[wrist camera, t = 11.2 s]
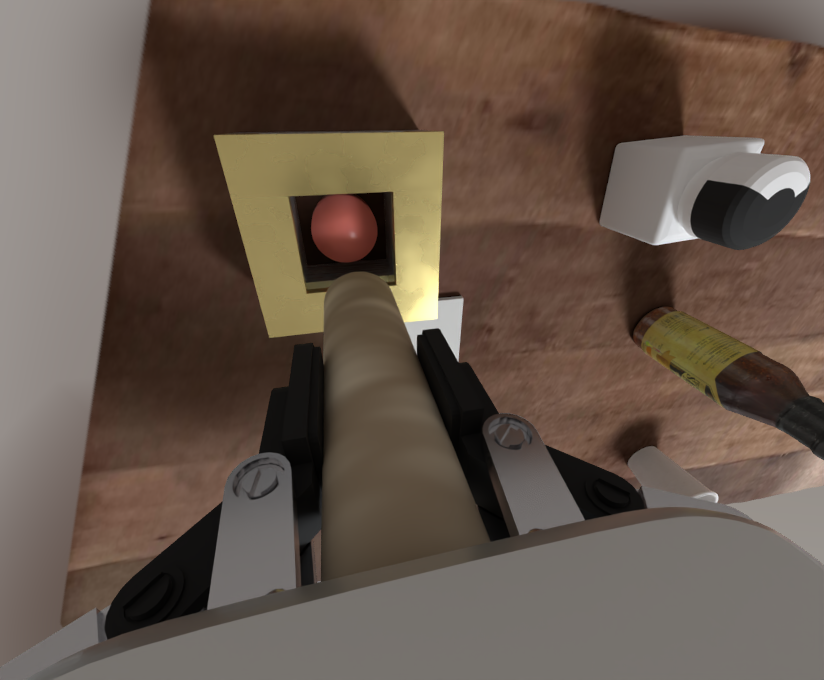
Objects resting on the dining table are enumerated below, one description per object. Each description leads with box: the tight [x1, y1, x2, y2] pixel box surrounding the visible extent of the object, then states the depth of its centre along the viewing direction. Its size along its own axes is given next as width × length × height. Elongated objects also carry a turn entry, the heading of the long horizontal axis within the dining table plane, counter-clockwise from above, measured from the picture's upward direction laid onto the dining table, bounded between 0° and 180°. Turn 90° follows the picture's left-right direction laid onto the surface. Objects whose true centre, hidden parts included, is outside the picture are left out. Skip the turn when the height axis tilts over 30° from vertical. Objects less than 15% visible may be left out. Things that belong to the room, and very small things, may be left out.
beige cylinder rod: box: [321, 272, 491, 582], centre depth 10 cm, size 3×3×15 cm
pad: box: [405, 296, 463, 361], centre depth 36 cm, size 8×8×1 cm
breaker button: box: [311, 193, 377, 263], centre depth 27 cm, size 5×5×2 cm
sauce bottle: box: [633, 307, 824, 460], centre depth 35 cm, size 6×6×20 cm
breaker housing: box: [214, 130, 444, 338], centre depth 26 cm, size 13×13×7 cm
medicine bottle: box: [599, 136, 810, 250], centre depth 28 cm, size 7×7×12 cm
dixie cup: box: [628, 446, 718, 503], centre depth 56 cm, size 8×8×10 cm
